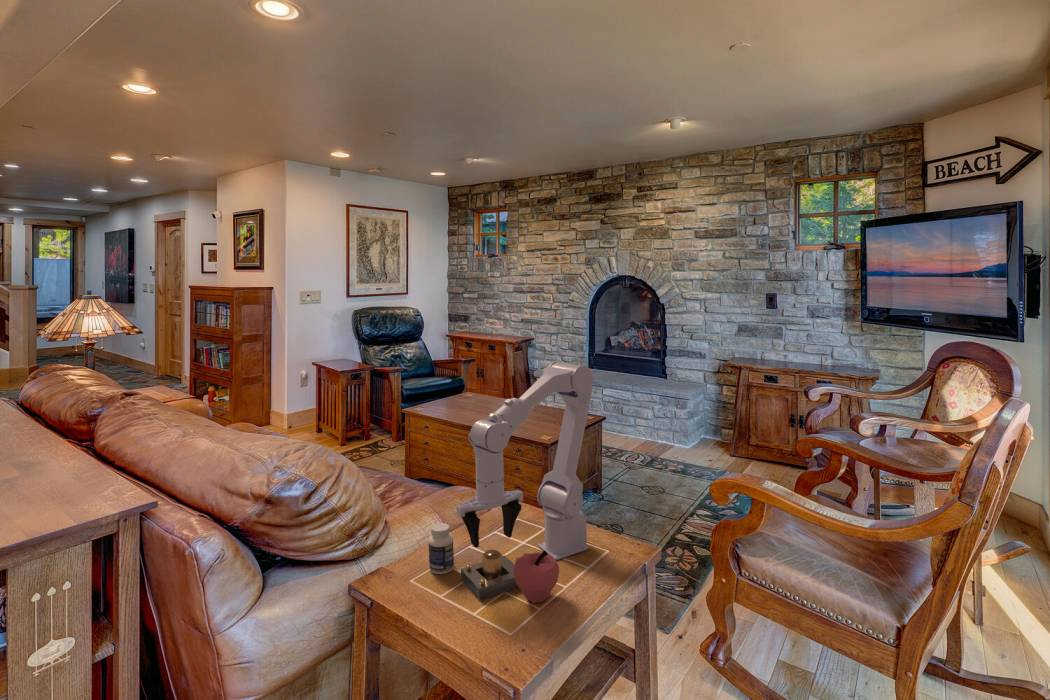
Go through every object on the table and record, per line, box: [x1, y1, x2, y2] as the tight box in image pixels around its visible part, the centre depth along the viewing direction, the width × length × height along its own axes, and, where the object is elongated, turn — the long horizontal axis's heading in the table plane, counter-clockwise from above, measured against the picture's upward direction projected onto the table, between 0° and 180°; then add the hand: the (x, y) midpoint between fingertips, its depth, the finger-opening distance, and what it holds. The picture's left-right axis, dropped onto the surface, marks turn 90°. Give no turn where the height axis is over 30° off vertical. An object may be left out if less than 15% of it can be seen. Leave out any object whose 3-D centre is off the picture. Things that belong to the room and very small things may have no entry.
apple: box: [513, 550, 560, 604], centre depth 110 cm, size 10×9×10 cm
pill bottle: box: [428, 522, 455, 575], centre depth 122 cm, size 5×5×10 cm
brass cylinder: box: [482, 549, 503, 581], centre depth 116 cm, size 4×4×6 cm
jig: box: [460, 555, 519, 601], centre depth 116 cm, size 11×9×4 cm
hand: (491, 540), depth 115 cm, fingers open, 7 cm apart
